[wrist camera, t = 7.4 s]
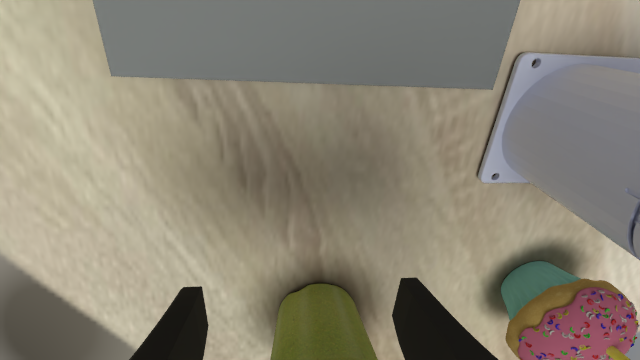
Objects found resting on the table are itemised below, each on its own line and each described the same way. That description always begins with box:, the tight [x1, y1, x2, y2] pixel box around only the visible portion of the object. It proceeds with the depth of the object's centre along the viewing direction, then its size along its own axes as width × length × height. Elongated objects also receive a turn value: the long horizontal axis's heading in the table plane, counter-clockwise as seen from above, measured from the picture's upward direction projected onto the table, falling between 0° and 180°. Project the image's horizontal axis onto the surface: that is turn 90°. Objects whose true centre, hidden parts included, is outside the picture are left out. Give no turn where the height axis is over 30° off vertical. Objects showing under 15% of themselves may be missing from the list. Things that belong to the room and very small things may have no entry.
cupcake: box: [501, 261, 640, 360], centre depth 22 cm, size 9×8×12 cm
